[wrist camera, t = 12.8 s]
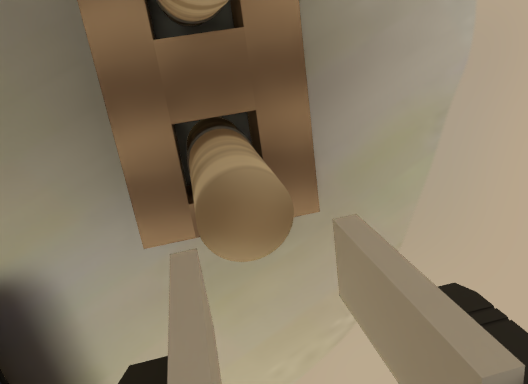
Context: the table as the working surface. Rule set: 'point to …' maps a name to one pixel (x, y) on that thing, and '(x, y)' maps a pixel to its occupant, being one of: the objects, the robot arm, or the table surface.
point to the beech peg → (235, 193)
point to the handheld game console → (3, 379)
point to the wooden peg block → (200, 98)
